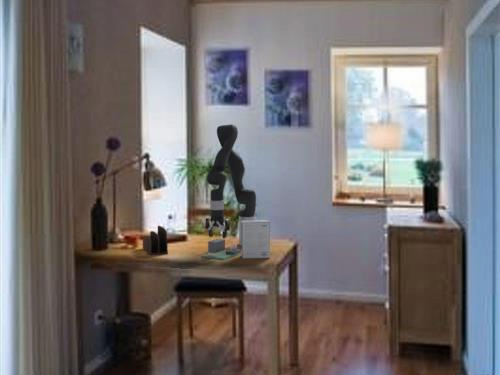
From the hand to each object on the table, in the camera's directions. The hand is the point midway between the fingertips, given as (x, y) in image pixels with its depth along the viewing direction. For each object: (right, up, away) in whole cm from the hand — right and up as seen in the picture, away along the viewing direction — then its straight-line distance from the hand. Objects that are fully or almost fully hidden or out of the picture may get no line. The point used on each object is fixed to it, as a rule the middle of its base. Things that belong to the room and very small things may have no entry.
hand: (217, 237), depth 365 cm
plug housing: (-1, -8, +1) cm, 8 cm away
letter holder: (-36, -9, +12) cm, 39 cm away
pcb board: (+2, -10, +2) cm, 11 cm away
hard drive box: (+21, -11, -2) cm, 24 cm away
